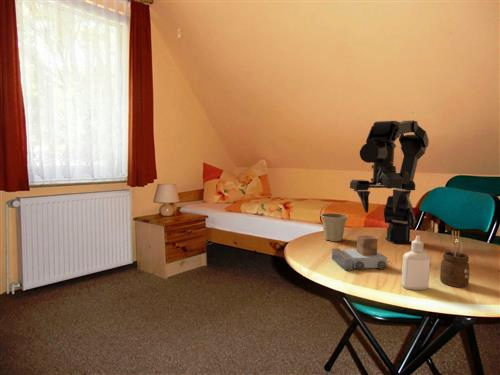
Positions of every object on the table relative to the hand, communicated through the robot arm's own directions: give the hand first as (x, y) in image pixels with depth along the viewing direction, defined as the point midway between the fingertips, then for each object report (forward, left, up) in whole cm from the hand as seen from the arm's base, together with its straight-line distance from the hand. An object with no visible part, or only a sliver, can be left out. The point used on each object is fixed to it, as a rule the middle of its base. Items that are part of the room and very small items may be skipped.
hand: (380, 212), depth 109 cm
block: (+10, +13, -9) cm, 19 cm away
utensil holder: (-5, +28, -12) cm, 31 cm away
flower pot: (+10, -14, -12) cm, 21 cm away
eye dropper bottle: (+6, +30, -12) cm, 33 cm away
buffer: (+17, +13, -12) cm, 25 cm away
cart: (+11, +13, -12) cm, 21 cm away
